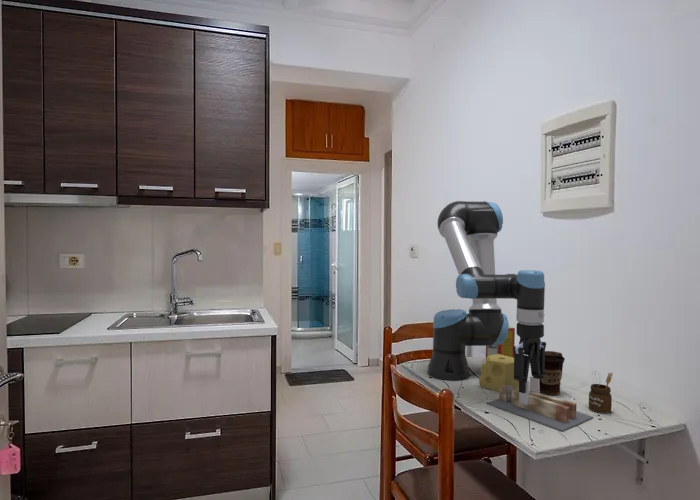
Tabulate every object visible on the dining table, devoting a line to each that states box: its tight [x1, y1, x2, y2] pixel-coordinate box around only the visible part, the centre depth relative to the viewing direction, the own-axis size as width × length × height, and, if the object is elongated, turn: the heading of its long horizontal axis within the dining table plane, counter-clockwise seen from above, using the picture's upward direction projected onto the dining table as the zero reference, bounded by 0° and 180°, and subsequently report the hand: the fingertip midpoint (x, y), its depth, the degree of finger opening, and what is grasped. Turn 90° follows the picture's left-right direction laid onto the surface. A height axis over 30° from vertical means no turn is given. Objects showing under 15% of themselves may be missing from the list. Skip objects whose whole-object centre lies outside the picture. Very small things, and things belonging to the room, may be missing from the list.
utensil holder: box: [588, 370, 614, 414], centre depth 135 cm, size 6×6×12 cm
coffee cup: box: [539, 350, 566, 396], centre depth 150 cm, size 9×8×13 cm
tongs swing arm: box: [516, 388, 578, 419], centre depth 133 cm, size 17×2×4 cm, turn 43°
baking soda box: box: [485, 326, 516, 358], centre depth 181 cm, size 10×6×16 cm
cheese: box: [478, 354, 519, 393], centre depth 154 cm, size 10×11×10 cm
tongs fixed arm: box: [498, 385, 570, 423], centre depth 133 cm, size 22×3×4 cm, turn 36°
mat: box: [486, 398, 594, 433], centre depth 134 cm, size 24×16×1 cm, turn 36°
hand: (529, 401), depth 135 cm, fingers open, 5 cm apart
